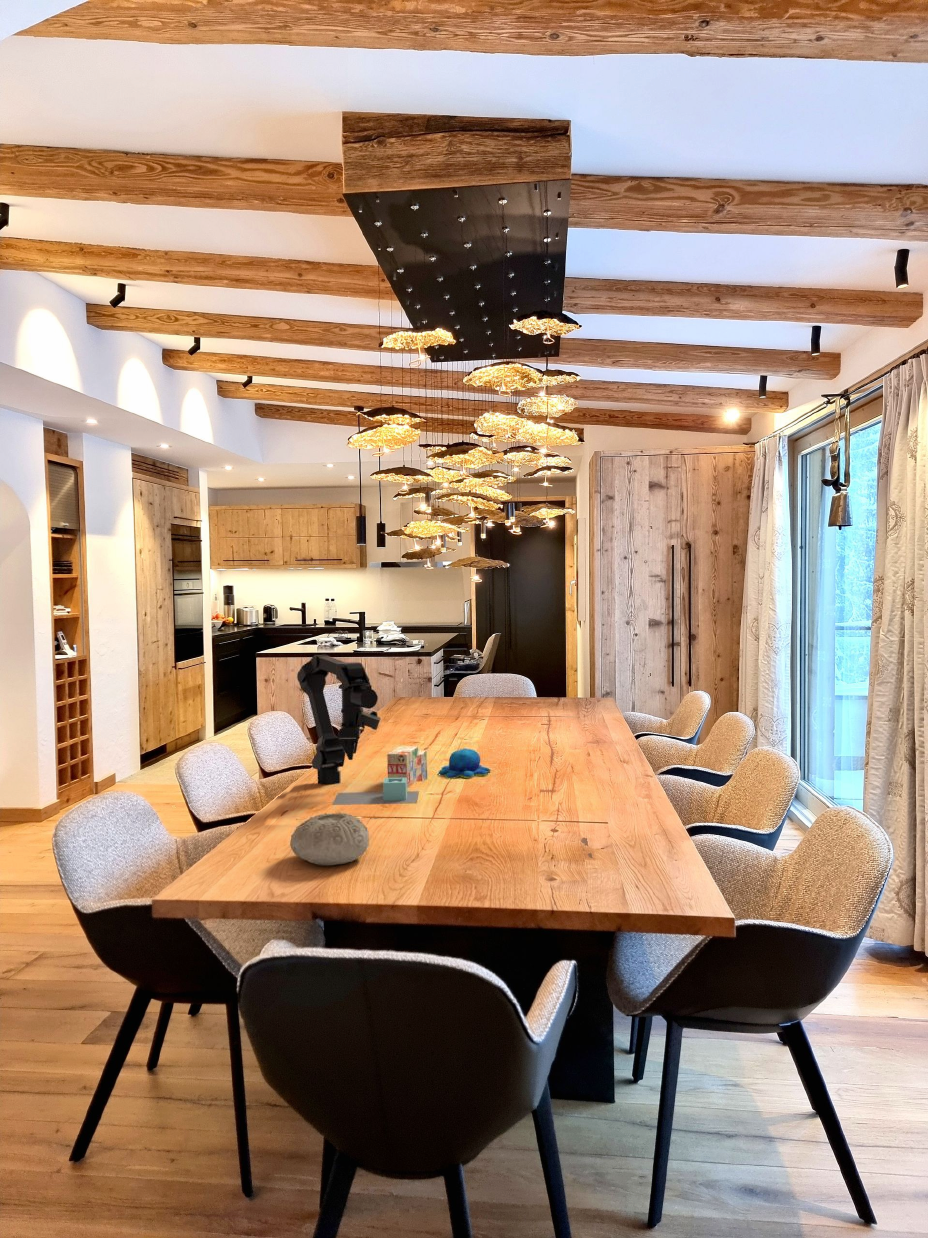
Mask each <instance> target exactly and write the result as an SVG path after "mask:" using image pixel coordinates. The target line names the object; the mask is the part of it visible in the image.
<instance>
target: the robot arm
mask: <svg viewBox="0 0 928 1238" xmlns="http://www.w3.org/2000/svg"><path fill="white" fill-rule="evenodd" d="M363 665H364V664H362V662H360V661H359V662H357V661H356V662H354V661H353V662H350V661H349V662H345V661H343V660H340V659H337V658H334V657H332V656H330V655H327V654H316V655H313V656H312V658H311V659H310V660H309V661H308V662H306V663H305V664H303V665H302V666H301V668H300V669H299V671H298V672H297V673H296V674H297V675H296V679H297V681H298V684H299V686H300V688H301V690H302V691H303V692H304V693H305V695H306V696H307V697H308V699H309V704H310V709H311V713H312V717H313V719H314V720H313V721H314V724H315V729H316V733H317V736H318V740H317V743H316V746H315V752H316V753H315V755H314V757H313V759H312V761H311V765H312V766H311V767H312V769H315V770H317V785H324V786H325V785H334V784H335V785H336V784H342V783H341V781H342V777H341V776H342V774H341V770H339V769H340V767H344V766H345V759H346V757H347V759H348V760H349V761H353V758H354V754H356V753H357V750H358V744H359V740H360V738H361V734H363V732H364V731H365V728H366V727H367V728H371V729H372V730H375V731H377V729H378V727H379V724H380V722H381V717H380V716H379V715H378V711H375V710H372V711H371V712H370V713H369V712H364V709H373V708H374V707H375V706H376V704H377V703H378V699H379V698H378V697H379V696H378V694H377V692H376V690H375V689H372V684H371V683H370V678H369V676H368V674H367V672H366V670H365V667H364V666H363ZM329 673H331V674H333V675H335V676H336V677H335V679H337V680H338V682H340V683H341V684H339V686H338V689H340V690H341V709H340V713H341V724H340V728H339V729H338V731H337V735H336V734H335V732H334V728H333V726H332V725H333V724H332V721H331V717H330V714H329V710H328V706H327V705H328V704H327V701H326V697H325V693H324V689H325V687H326V684H327V681H326V680H327V679H326V678H327V677H328V676H329Z"/></svg>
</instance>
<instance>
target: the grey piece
mask: <svg viewBox="0 0 928 1238" xmlns="http://www.w3.org/2000/svg"><path fill="white" fill-rule="evenodd" d="M393 782H398V781H393ZM419 793H420V791H419V790H417V791H415V790H412V791H410V790H407V798H406V800H383V791H365V792H363V791H361V792H359V791H358V792H355V791H354V792H338V793H337V795H336V797H335V798H334V799H333V802H332V804H331V806H337V805H338V806H342V805H344V806H345V805H347V806H348V805H349V806H351V805H391V804H392V805H397V804H398V805H399V804H418V800H419V799H418V798H419Z"/></svg>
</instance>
